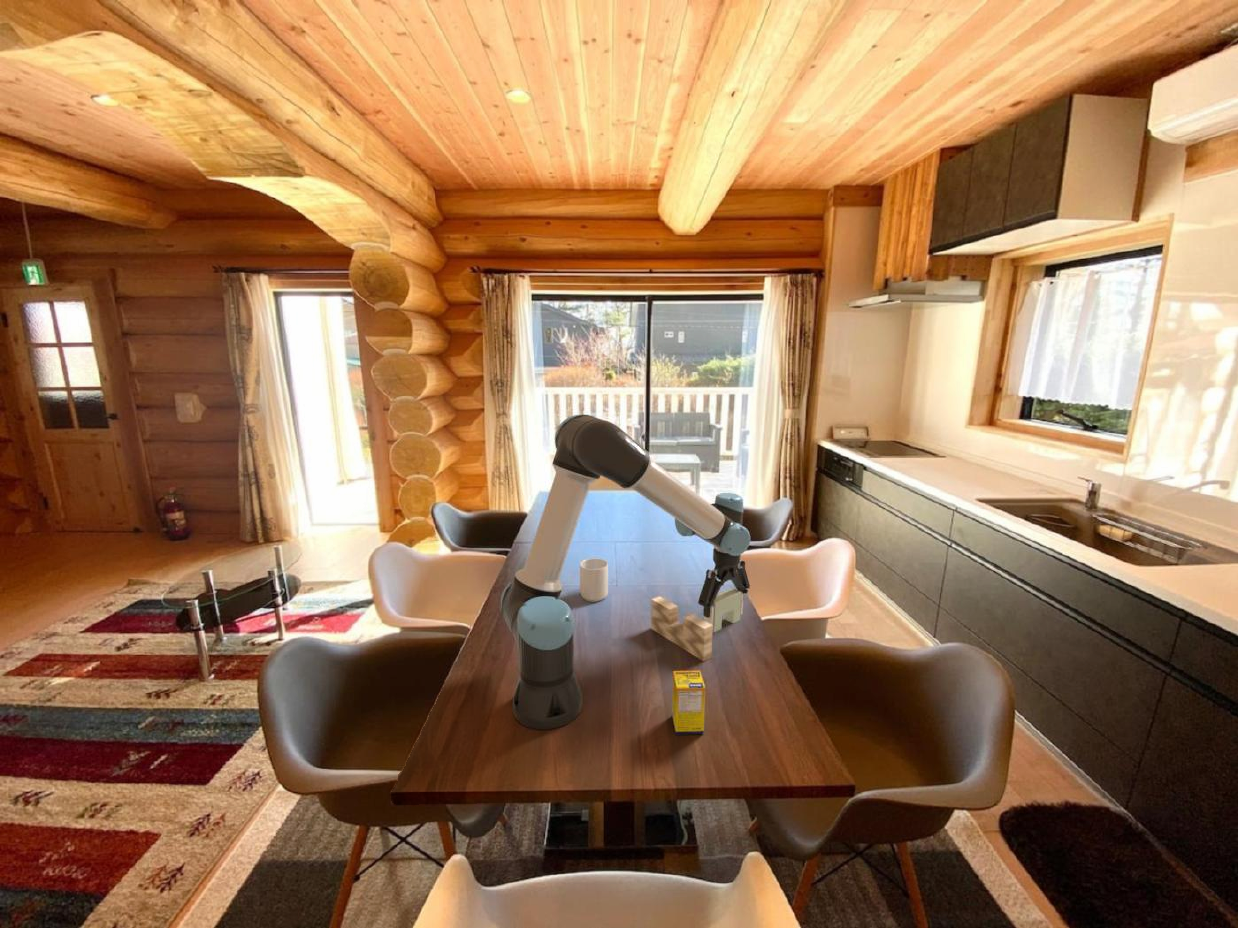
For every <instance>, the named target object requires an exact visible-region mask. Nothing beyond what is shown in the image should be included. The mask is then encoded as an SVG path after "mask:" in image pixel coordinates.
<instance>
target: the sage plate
mask: <svg viewBox="0 0 1238 928" xmlns="http://www.w3.org/2000/svg"><path fill="white" fill-rule="evenodd" d="M712 606H714V615H713V633H717V632H718V631H721V630H722V625H723V624H722V623H723V622H722V621H723V615H724V620H725V621H727V622H730V623H731V624H735V623H737V622H739V621H740V620H741V615H740V608H741V591H738V590H737V589H736V588H731V589H727V590H726V591H723V592H721V593H718V594H717V596H716V598H715V600H714V602H713V604H712Z"/></svg>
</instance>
